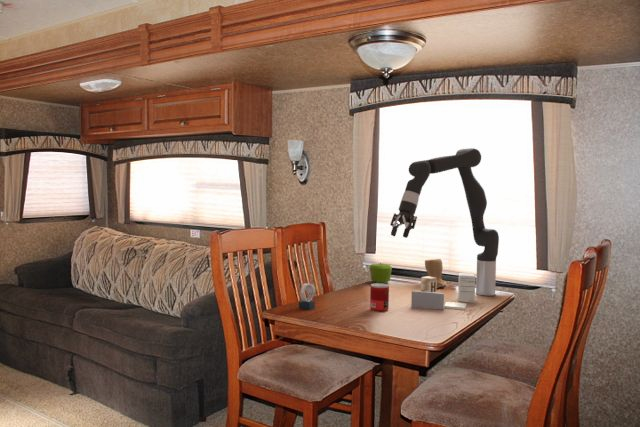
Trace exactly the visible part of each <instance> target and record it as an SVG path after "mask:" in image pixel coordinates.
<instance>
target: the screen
mask: <svg viewBox="0 0 640 427" xmlns="http://www.w3.org/2000/svg"><path fill="white" fill-rule="evenodd" d="M410 304H411V305H410V307H411V308H421V309H429V310H431V309H432V310H444V309H445V308H444V305H445V293H444V292H436V293H434V292H422V291H421V290H412V291H411V303H410Z"/></svg>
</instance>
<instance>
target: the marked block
mask: <svg viewBox="0 0 640 427" xmlns="http://www.w3.org/2000/svg"><path fill="white" fill-rule="evenodd" d="M420 278H421V279H420V291H422V292H434V293H437V288H436V286H437V278H435V277H429V276H428V275H427V276H422V277H420Z"/></svg>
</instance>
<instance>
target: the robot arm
mask: <svg viewBox="0 0 640 427" xmlns="http://www.w3.org/2000/svg"><path fill="white" fill-rule="evenodd" d="M481 154H482V153H481V152H480V151H479V150H478V149H477V148H474V147H473V148H472V147H471V148H468V147H467V148H461V149H458V150H457V151H456V153H455V155H454V154H453V155H443V156H439V157H438V156H437V157H434V158H429V159H425V160H418V161H413V162H412V163H411V164H410V165H409V167H408V173H409V175H411V176H412V177H413V178H411V179H410V180H408V181H407V183H406V187H405V189H404V190H405V191H404V193H403V194H402V197H401V201H400V203H399V207H398V211H399V213H398V214H397V213H396V212H395V213H393V216H392V219H391V221H390V226H391V227H392V228H391V231H390V235H391V236H393V237H396V236H397V232H398V228H399V227H401V226H402V225H404V230H403V233H402V237H403V238H406V239H407V238H408V237H409V234H410V231H411V230H413V229H415V226H416V223H417V219H418V216H417V215H415V214H416V210H417V207H418V205H419V201H420V196H421V193H422V190H423V187H424V185H425V184H426V182H427V181H428V179H429V177H430V174H432V175H433V174H438V173H442V172H446V171H450V170H453V169H457V170H458V172H459V175H460V178H461V182H462V185H463V189H464V194H465V198H466V203H467V206H468V207H467V208H468V211H469V214H470V220H471V226H472V233H473V235H472V236H473V240H474V242H475V244H476V245H478V246H479V247H484V248H483V252H480V253H478V254H477V255H476V277H475V295H479V296H495V295H496V276H497V275H496V274H497V273H496V272H497V257H498V254H499V242H500V238H499V237H500V236H499V233H498V231H497V230H496V229H492V228H486V226H485V222H484V215H485V212H486V209H487V206H488V205H487V204H488V201H487V196H486V193H485V189H484V188H483V186H482V185H481V183H480V182H479V181H478V179H476V177H475V175H474V173H473V170H472V168H475V167H477V166H479V164H480V163H481V160H482V155H481Z"/></svg>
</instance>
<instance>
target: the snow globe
mask: <svg viewBox="0 0 640 427" xmlns="http://www.w3.org/2000/svg"><path fill="white" fill-rule="evenodd" d="M315 291H316V287H315V286H314V285H313V284H312V283H306V282H305V283H303V284H302V285H301V288H300V292H299V293H300V294H299V295H300V296H299V297H300V299H301V300H299V301H298V310H299V309H300V310H305V311H312V310H314V308H315V307H316V305H315V304H316V302H315V301H313V298H314V295H315ZM305 292H306V293H307V295H308V296H307V295H306V293H305ZM315 309H316V308H315Z"/></svg>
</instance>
